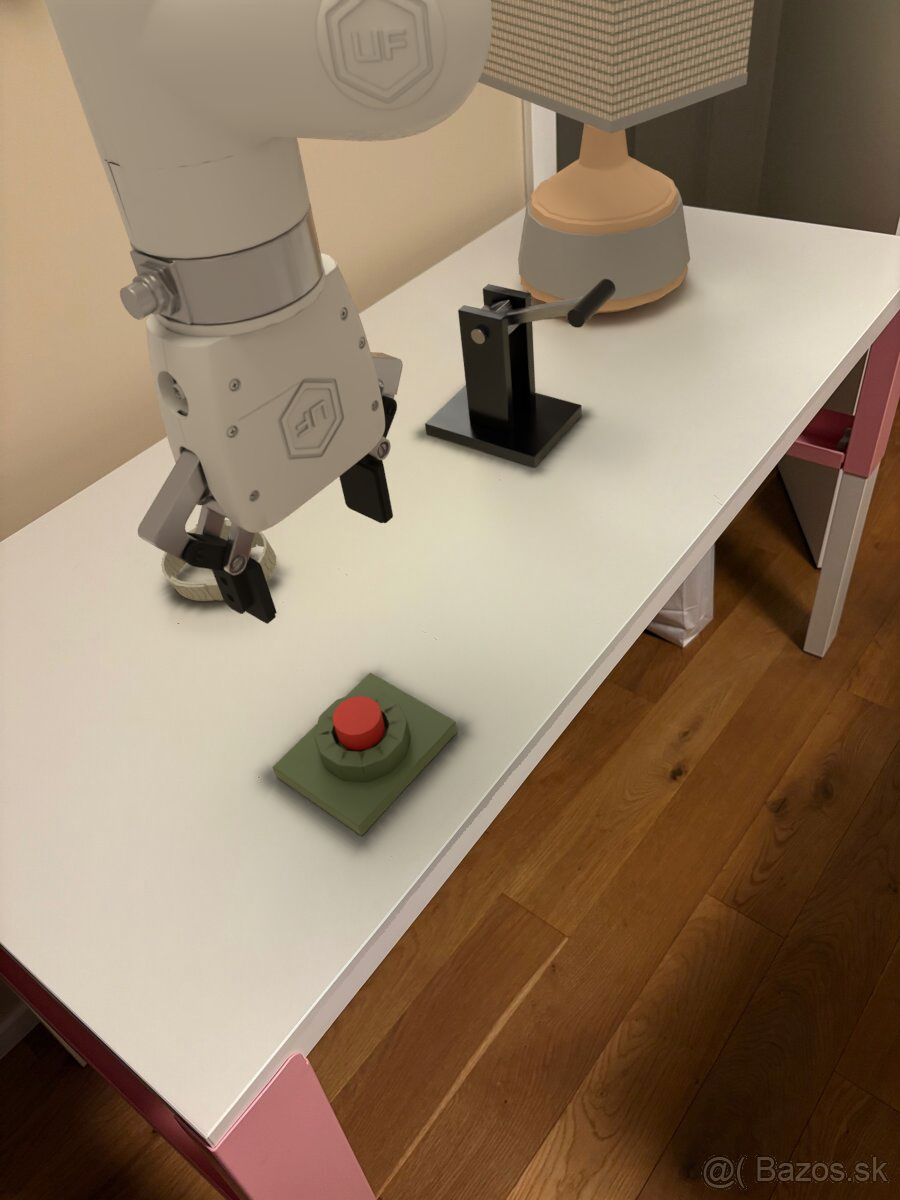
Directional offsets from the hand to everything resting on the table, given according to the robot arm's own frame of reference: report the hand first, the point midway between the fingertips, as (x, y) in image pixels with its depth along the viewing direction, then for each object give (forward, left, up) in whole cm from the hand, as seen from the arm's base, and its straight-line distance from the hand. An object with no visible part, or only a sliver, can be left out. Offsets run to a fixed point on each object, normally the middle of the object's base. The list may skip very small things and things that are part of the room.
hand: (314, 559), depth 52 cm
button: (0, 0, -16) cm, 16 cm away
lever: (-19, -33, -7) cm, 38 cm away
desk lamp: (-30, -60, -18) cm, 70 cm away
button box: (0, 0, -18) cm, 18 cm away
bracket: (-15, -36, -18) cm, 43 cm away
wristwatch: (+11, -20, -18) cm, 29 cm away
